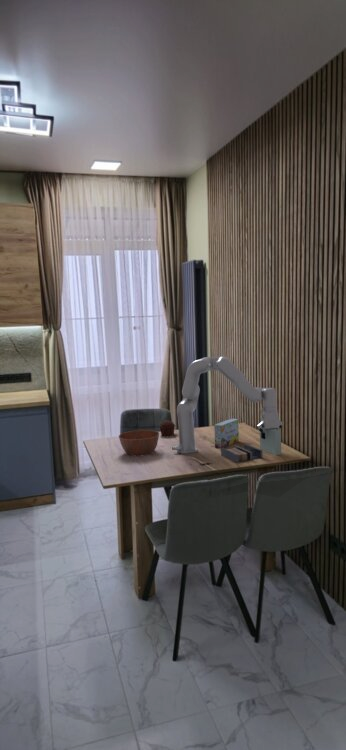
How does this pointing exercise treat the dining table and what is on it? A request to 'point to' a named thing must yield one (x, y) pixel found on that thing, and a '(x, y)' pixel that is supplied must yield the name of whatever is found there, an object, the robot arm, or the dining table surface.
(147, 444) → the bowl
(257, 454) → the offcut rack
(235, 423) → the snack box
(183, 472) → the dining table surface
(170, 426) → the muffin
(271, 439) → the tall sheet
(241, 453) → the upper offcut
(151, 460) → the dining table surface
